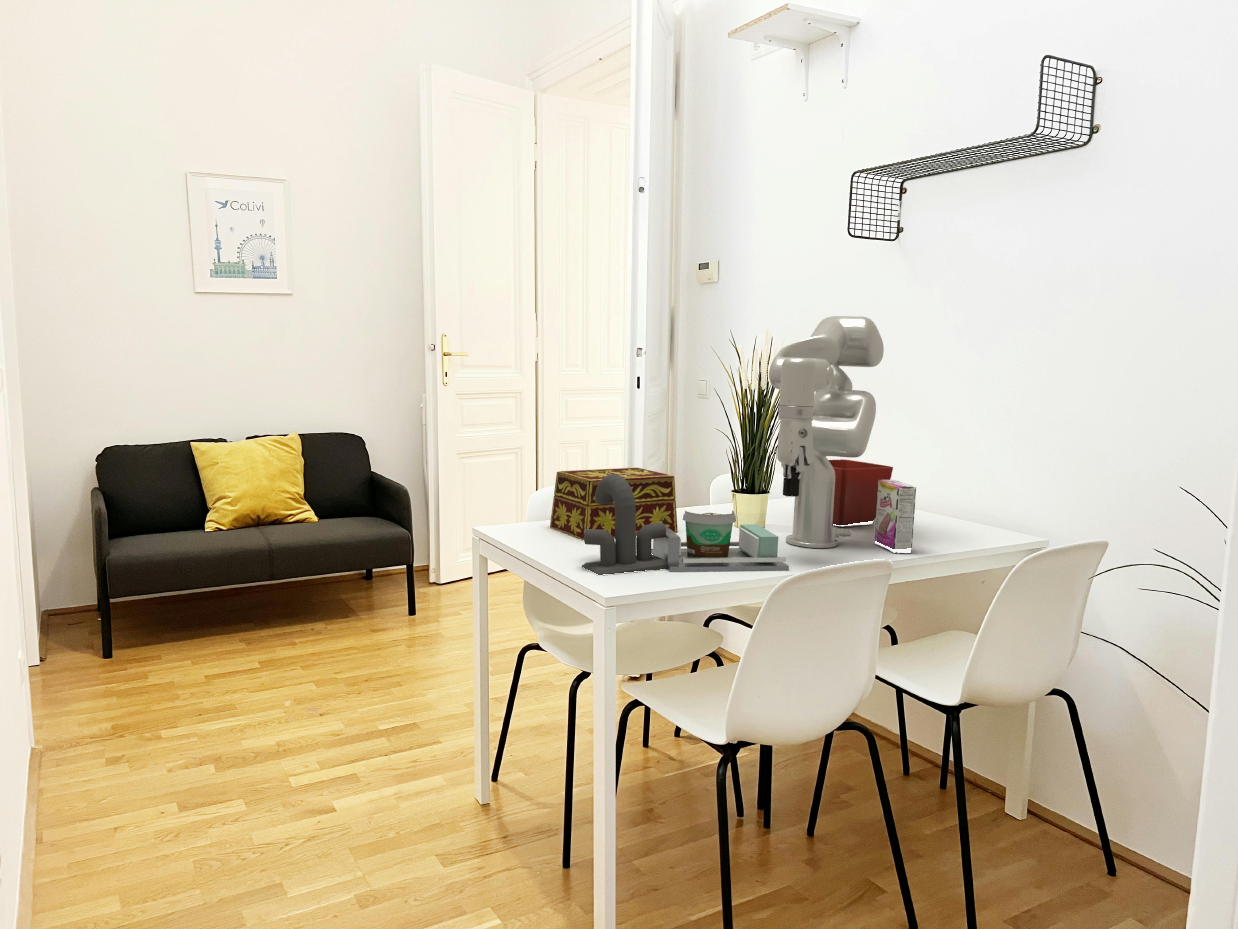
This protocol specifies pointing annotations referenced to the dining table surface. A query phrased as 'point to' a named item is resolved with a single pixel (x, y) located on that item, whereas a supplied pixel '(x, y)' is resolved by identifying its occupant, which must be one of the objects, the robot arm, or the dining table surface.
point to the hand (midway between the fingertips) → (790, 495)
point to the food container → (708, 534)
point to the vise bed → (735, 561)
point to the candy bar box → (895, 514)
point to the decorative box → (581, 512)
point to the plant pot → (856, 490)
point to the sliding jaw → (757, 541)
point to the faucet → (623, 533)
